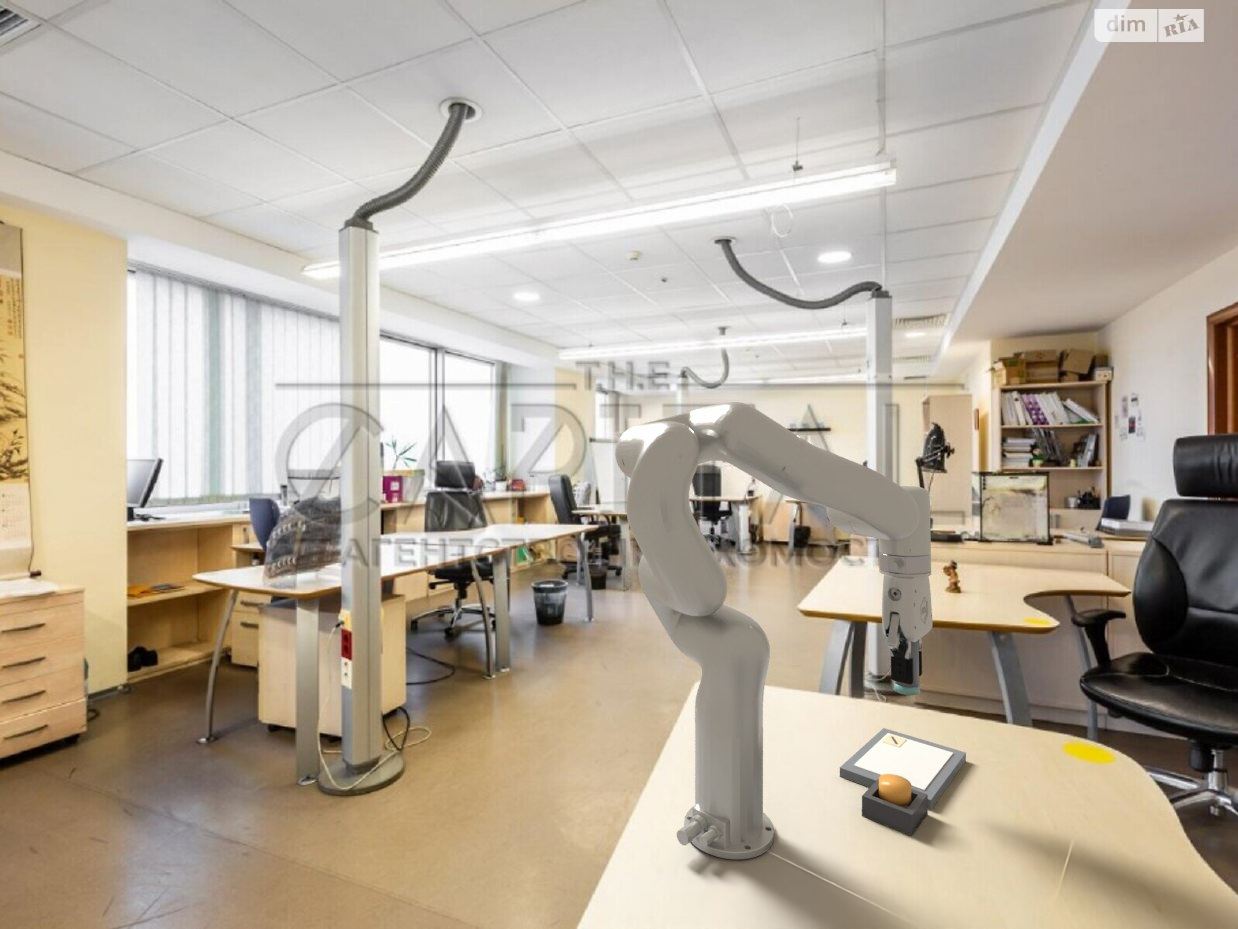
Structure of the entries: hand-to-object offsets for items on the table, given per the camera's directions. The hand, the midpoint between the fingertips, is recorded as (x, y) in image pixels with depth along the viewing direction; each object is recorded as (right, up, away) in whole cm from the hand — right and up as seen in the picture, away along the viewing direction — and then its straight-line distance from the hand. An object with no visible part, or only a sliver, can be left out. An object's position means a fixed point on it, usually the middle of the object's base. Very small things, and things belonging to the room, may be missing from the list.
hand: (906, 676), depth 97 cm
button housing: (-5, -18, -7) cm, 20 cm away
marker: (0, -2, 0) cm, 2 cm away
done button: (-5, -16, -7) cm, 18 cm away
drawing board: (+3, -18, +6) cm, 19 cm away
